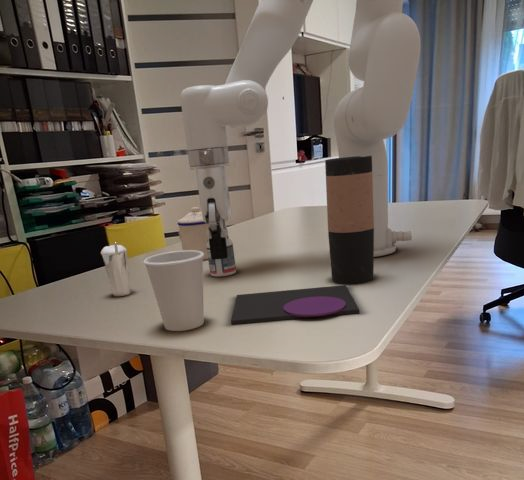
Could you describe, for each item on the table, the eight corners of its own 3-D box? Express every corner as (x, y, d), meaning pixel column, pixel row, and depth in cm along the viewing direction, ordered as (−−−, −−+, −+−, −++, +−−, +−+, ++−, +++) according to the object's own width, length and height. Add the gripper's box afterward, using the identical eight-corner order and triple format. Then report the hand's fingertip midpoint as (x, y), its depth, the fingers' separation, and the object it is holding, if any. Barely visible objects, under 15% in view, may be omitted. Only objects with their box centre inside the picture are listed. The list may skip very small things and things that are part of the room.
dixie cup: (163, 338, 71) (150, 265, 67) (150, 323, 78) (137, 256, 74) (220, 325, 73) (211, 255, 70) (203, 312, 81) (193, 247, 77)
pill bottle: (238, 270, 107) (233, 226, 104) (233, 276, 102) (227, 230, 99) (214, 271, 108) (208, 228, 105) (207, 277, 104) (201, 232, 100)
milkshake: (113, 299, 94) (102, 244, 90) (107, 294, 98) (96, 241, 95) (138, 294, 96) (128, 240, 92) (131, 289, 100) (121, 237, 97)
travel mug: (326, 284, 89) (319, 161, 82) (335, 273, 96) (330, 158, 89) (371, 284, 87) (368, 156, 79) (378, 273, 93) (375, 154, 86)
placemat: (345, 288, 86) (345, 283, 85) (361, 316, 71) (361, 310, 71) (237, 298, 87) (236, 293, 86) (230, 328, 72) (229, 321, 72)
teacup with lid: (228, 254, 125) (222, 204, 121) (198, 262, 119) (191, 210, 115) (197, 251, 133) (191, 204, 129) (168, 258, 128) (160, 210, 123)
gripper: (225, 158, 89) (237, 262, 96) (232, 157, 105) (241, 246, 112) (182, 162, 90) (196, 266, 96) (195, 160, 106) (207, 249, 112)
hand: (220, 254), depth 104 cm, fingers closed on pill bottle, 5 cm apart
